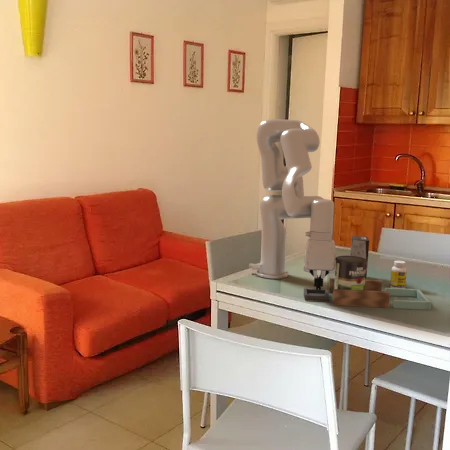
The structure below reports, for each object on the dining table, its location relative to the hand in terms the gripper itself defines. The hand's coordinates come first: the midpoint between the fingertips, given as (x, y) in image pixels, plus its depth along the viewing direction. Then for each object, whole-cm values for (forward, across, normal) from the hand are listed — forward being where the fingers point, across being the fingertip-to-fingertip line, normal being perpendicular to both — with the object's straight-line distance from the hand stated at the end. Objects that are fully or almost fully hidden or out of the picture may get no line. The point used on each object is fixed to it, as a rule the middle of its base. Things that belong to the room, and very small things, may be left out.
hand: (318, 288), depth 187 cm
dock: (+3, +29, 0) cm, 30 cm away
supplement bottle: (+3, +30, +17) cm, 35 cm away
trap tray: (+3, -1, 0) cm, 3 cm away
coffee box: (+3, +17, +27) cm, 32 cm away
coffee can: (+3, +10, 0) cm, 11 cm away
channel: (+3, +13, 0) cm, 14 cm away
